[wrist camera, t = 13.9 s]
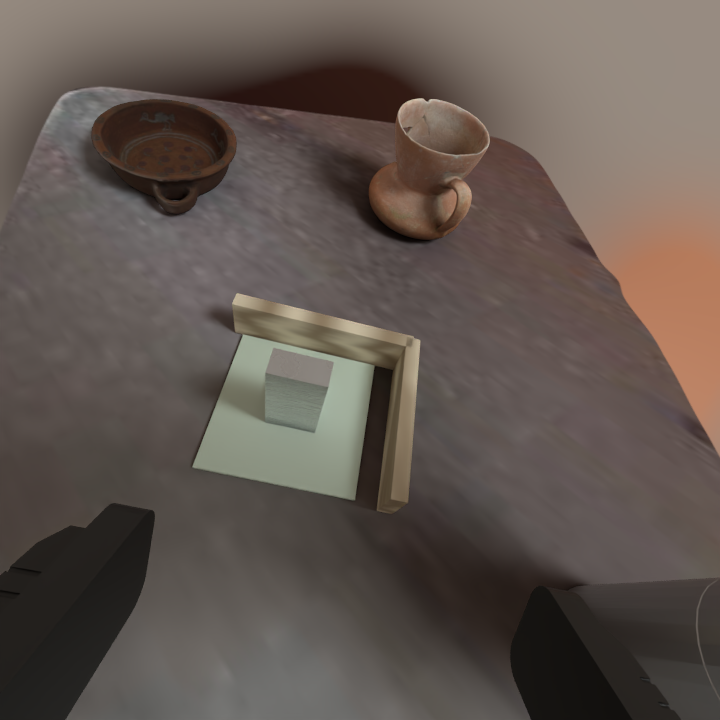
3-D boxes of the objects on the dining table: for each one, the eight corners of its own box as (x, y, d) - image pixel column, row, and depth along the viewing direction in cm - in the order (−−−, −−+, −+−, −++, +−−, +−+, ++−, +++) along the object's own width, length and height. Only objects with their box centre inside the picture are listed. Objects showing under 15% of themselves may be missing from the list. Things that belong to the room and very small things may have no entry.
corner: (406, 362, 47) (420, 338, 42) (391, 513, 37) (408, 502, 33) (239, 322, 45) (236, 293, 41) (179, 471, 35) (168, 453, 31)
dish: (221, 123, 64) (218, 90, 60) (254, 216, 54) (254, 184, 50) (98, 123, 58) (85, 86, 54) (111, 228, 48) (96, 192, 44)
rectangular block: (314, 433, 39) (328, 387, 31) (264, 422, 39) (265, 372, 30) (326, 381, 43) (341, 327, 34) (280, 371, 42) (284, 313, 34)
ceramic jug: (348, 182, 62) (368, 85, 50) (427, 178, 67) (463, 87, 55) (391, 268, 55) (426, 177, 43) (477, 255, 60) (529, 171, 48)
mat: (373, 367, 45) (374, 365, 45) (354, 500, 37) (354, 499, 37) (243, 336, 44) (243, 334, 44) (192, 468, 36) (192, 466, 35)
